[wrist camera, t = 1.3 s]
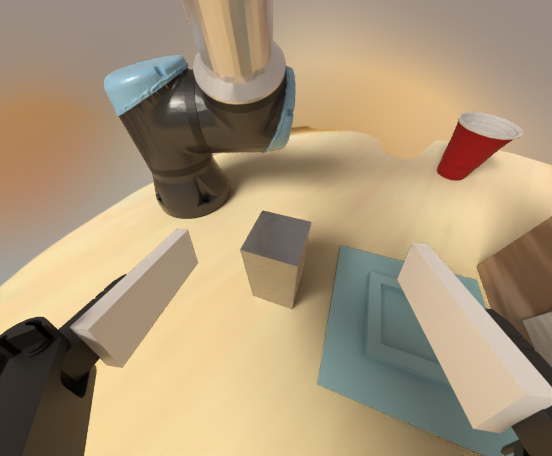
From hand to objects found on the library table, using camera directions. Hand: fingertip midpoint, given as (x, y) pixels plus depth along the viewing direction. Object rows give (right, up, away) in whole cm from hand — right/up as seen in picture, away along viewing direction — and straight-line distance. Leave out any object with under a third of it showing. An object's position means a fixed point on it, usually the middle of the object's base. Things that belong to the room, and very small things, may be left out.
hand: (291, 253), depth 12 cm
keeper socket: (+17, -11, +14) cm, 24 cm away
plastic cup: (+42, +15, +36) cm, 57 cm away
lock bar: (0, -7, +18) cm, 19 cm away
